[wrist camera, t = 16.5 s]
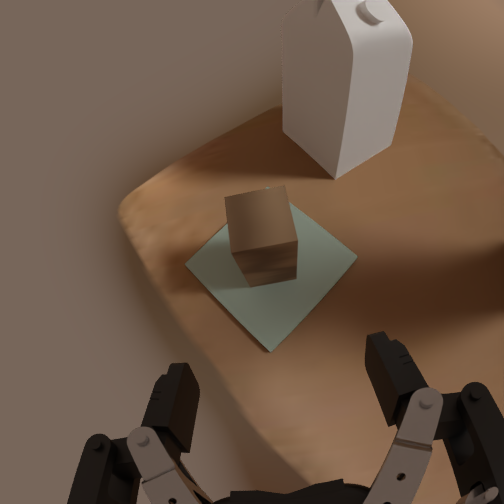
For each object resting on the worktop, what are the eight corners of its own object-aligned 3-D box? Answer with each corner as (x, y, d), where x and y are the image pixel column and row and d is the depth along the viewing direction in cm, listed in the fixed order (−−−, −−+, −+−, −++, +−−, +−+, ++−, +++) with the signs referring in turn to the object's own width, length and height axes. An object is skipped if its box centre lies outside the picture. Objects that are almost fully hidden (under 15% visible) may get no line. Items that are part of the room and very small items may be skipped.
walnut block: (287, 237, 31) (284, 185, 22) (296, 279, 29) (297, 240, 20) (244, 245, 32) (224, 197, 22) (250, 287, 30) (230, 252, 20)
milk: (339, 104, 40) (344, -39, 16) (390, 145, 35) (429, -14, 11) (282, 131, 38) (262, -37, 15) (335, 179, 34) (355, -23, 10)
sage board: (268, 189, 35) (267, 186, 34) (356, 258, 30) (358, 256, 29) (186, 265, 32) (184, 264, 32) (270, 352, 27) (270, 352, 27)
